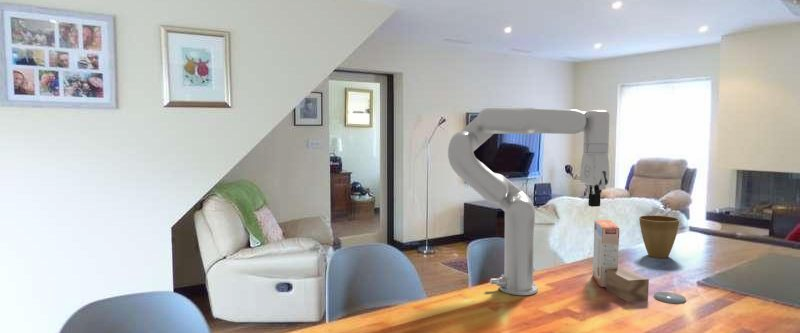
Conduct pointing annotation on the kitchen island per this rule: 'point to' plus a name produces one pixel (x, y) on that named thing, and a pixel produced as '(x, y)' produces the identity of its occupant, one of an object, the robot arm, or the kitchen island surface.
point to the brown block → (627, 284)
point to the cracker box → (605, 249)
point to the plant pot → (658, 234)
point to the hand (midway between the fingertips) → (594, 205)
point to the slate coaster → (669, 297)
